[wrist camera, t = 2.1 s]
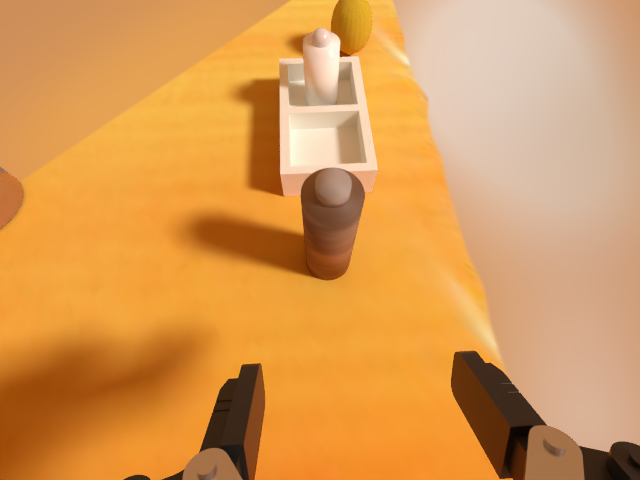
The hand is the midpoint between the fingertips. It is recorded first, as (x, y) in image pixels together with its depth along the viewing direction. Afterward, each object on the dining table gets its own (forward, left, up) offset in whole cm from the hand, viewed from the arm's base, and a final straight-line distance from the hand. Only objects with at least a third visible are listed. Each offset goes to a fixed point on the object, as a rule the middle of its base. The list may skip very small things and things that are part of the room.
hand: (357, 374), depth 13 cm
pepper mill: (-9, +8, -16) cm, 20 cm away
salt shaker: (-24, +23, -15) cm, 36 cm away
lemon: (-29, +34, -16) cm, 47 cm away
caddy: (-21, +20, -16) cm, 33 cm away
